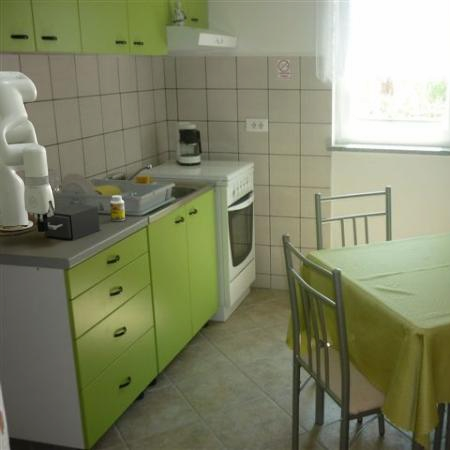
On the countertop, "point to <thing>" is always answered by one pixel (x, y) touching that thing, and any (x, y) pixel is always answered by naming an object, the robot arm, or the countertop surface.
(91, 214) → the dark grey box
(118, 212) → the supplement bottle
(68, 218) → the drawer
